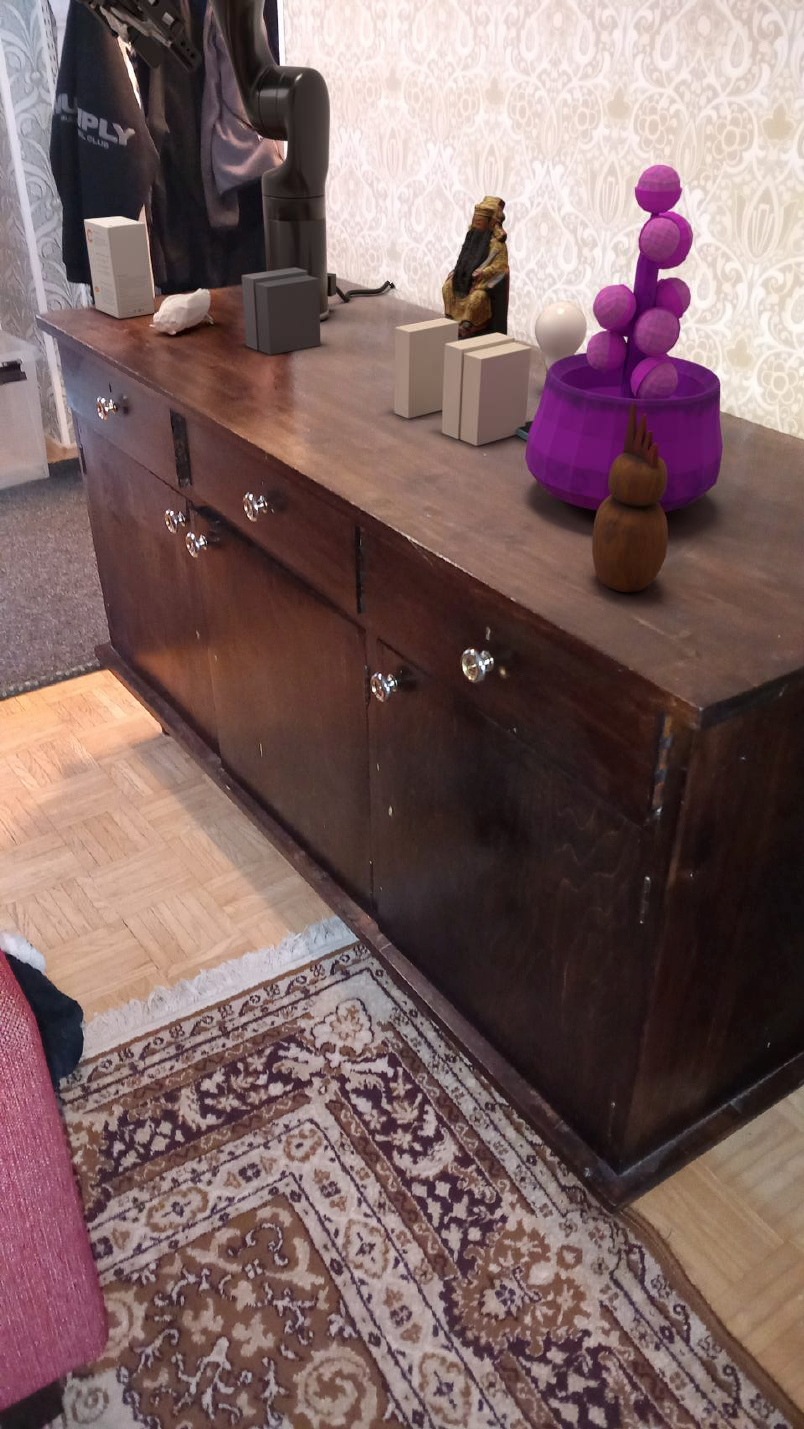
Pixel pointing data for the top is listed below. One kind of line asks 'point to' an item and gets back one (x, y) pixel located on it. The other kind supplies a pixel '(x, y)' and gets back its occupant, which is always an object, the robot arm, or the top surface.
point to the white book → (421, 365)
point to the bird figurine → (182, 311)
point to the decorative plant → (633, 377)
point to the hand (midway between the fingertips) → (177, 64)
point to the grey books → (281, 310)
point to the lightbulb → (560, 331)
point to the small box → (119, 266)
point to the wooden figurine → (632, 514)
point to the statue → (480, 275)
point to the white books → (485, 388)
